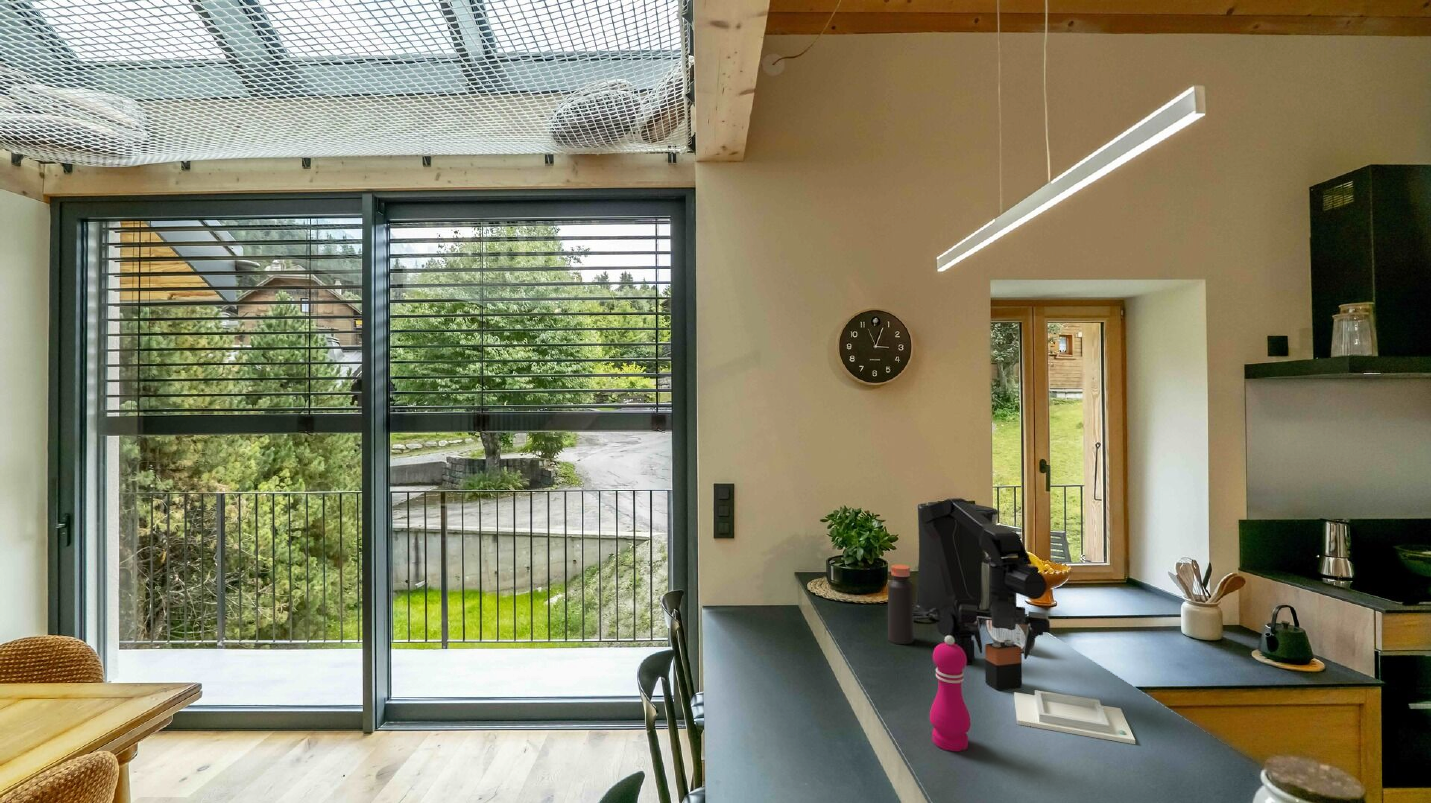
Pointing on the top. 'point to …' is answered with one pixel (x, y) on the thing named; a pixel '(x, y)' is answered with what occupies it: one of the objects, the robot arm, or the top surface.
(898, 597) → the bottle
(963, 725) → the pepper mill
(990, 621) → the tin
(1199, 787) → the top surface
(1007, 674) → the battery
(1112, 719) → the charging cradle
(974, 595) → the coffee maker
